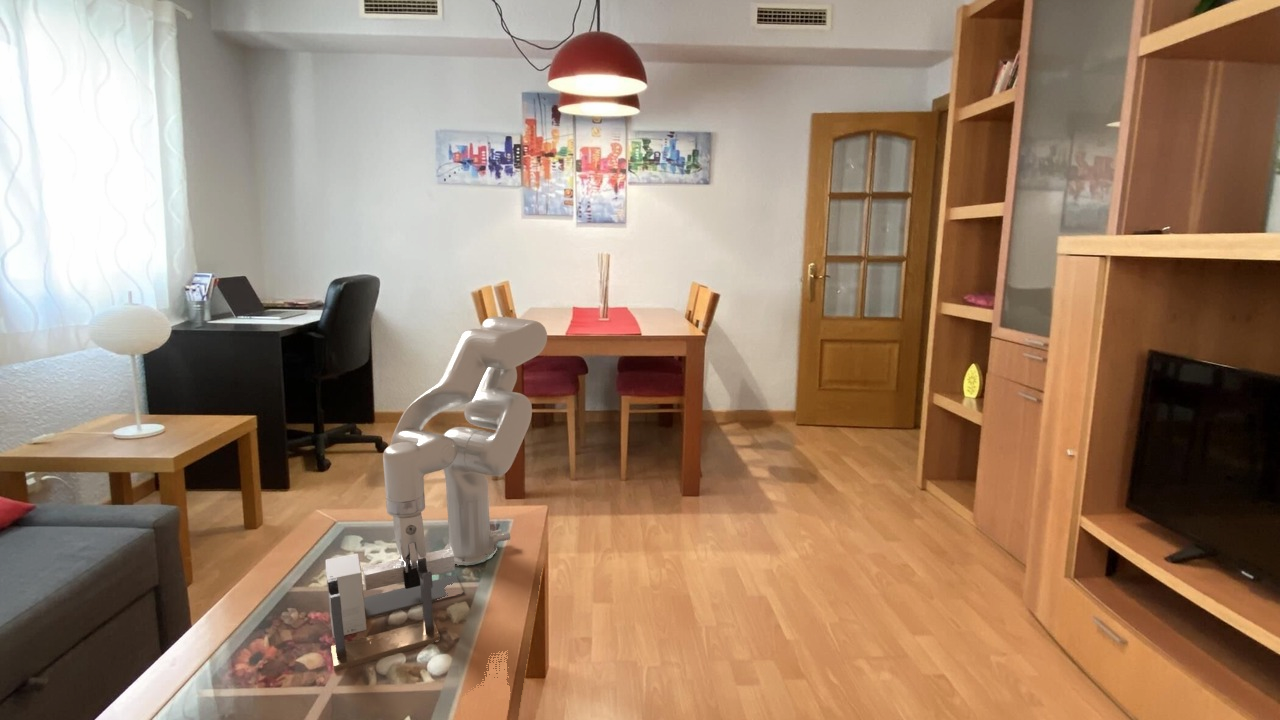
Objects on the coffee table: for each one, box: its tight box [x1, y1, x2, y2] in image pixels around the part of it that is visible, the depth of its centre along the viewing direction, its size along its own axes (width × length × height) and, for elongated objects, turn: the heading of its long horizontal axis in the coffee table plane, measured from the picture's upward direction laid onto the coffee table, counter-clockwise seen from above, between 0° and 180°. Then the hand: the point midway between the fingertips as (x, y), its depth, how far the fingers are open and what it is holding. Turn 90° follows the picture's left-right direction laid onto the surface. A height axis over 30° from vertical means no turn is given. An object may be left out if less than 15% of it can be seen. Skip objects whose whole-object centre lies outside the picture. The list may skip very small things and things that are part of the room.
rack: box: [327, 558, 441, 672], centre depth 131 cm, size 19×6×15 cm, turn 118°
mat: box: [364, 574, 458, 620], centre depth 148 cm, size 20×7×1 cm, turn 118°
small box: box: [325, 553, 367, 639], centre depth 138 cm, size 8×6×13 cm
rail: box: [362, 548, 456, 591], centre depth 146 cm, size 18×4×4 cm, turn 118°
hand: (410, 580), depth 147 cm, fingers closed on rail, 3 cm apart
